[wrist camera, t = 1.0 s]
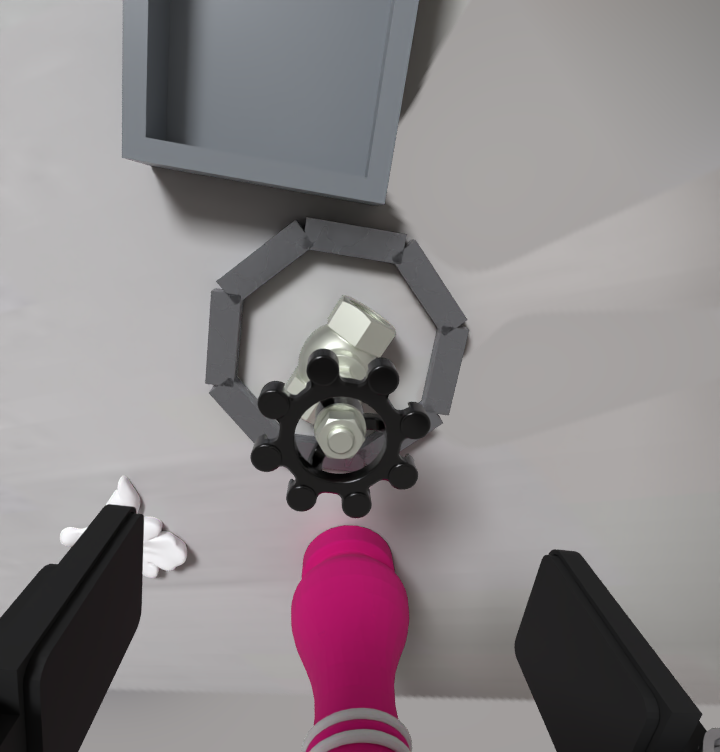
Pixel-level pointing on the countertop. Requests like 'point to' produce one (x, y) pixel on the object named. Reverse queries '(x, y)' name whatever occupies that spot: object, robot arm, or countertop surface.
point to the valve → (340, 412)
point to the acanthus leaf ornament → (157, 544)
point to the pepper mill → (351, 641)
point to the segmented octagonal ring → (343, 242)
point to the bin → (268, 90)
